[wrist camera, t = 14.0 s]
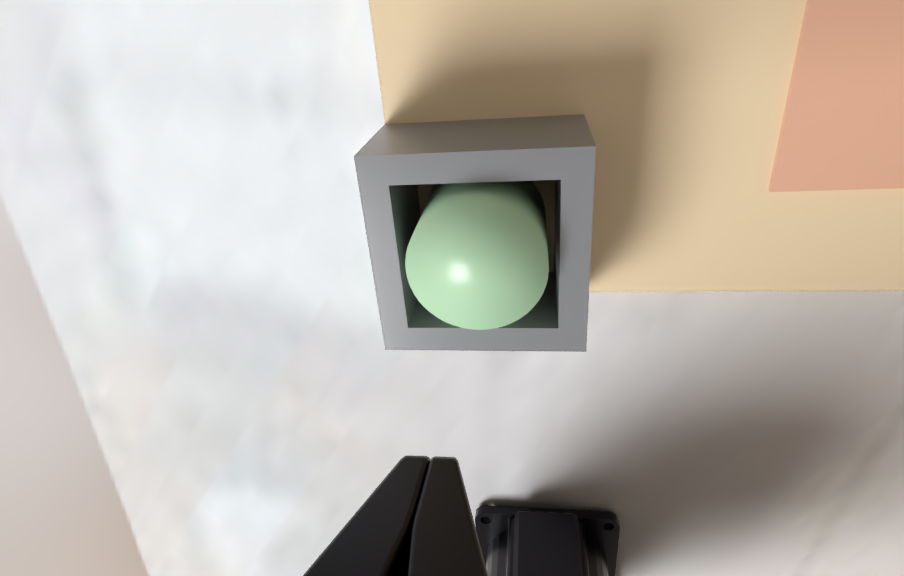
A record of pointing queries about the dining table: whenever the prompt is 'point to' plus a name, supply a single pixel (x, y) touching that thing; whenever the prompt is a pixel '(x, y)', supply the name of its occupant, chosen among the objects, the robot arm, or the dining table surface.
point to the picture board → (687, 127)
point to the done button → (480, 253)
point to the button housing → (470, 161)
